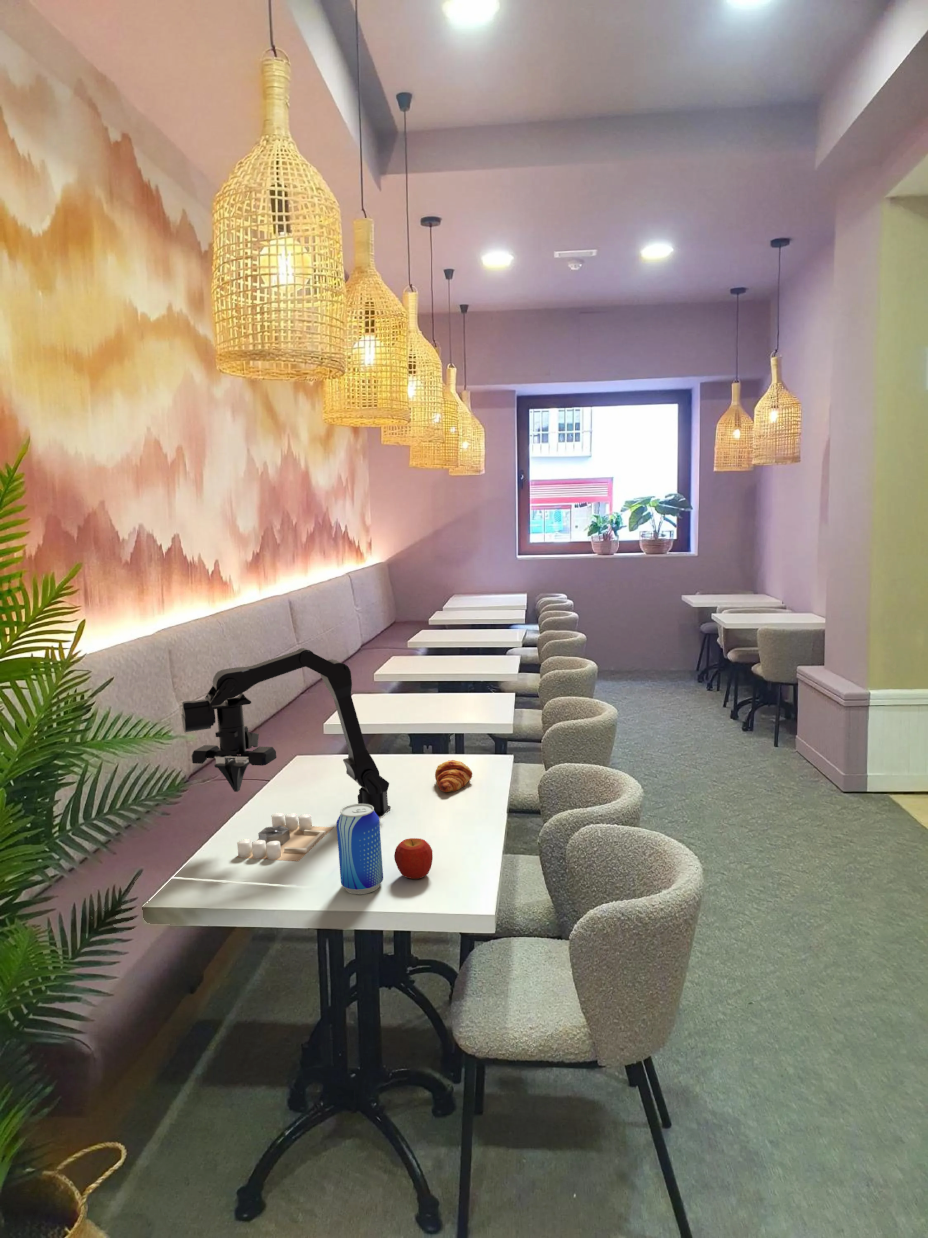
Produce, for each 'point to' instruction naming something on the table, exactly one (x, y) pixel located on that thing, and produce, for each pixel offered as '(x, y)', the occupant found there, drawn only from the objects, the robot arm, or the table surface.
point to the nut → (275, 834)
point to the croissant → (452, 775)
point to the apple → (413, 858)
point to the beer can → (359, 849)
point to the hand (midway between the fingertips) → (237, 791)
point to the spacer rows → (273, 847)
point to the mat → (299, 843)
